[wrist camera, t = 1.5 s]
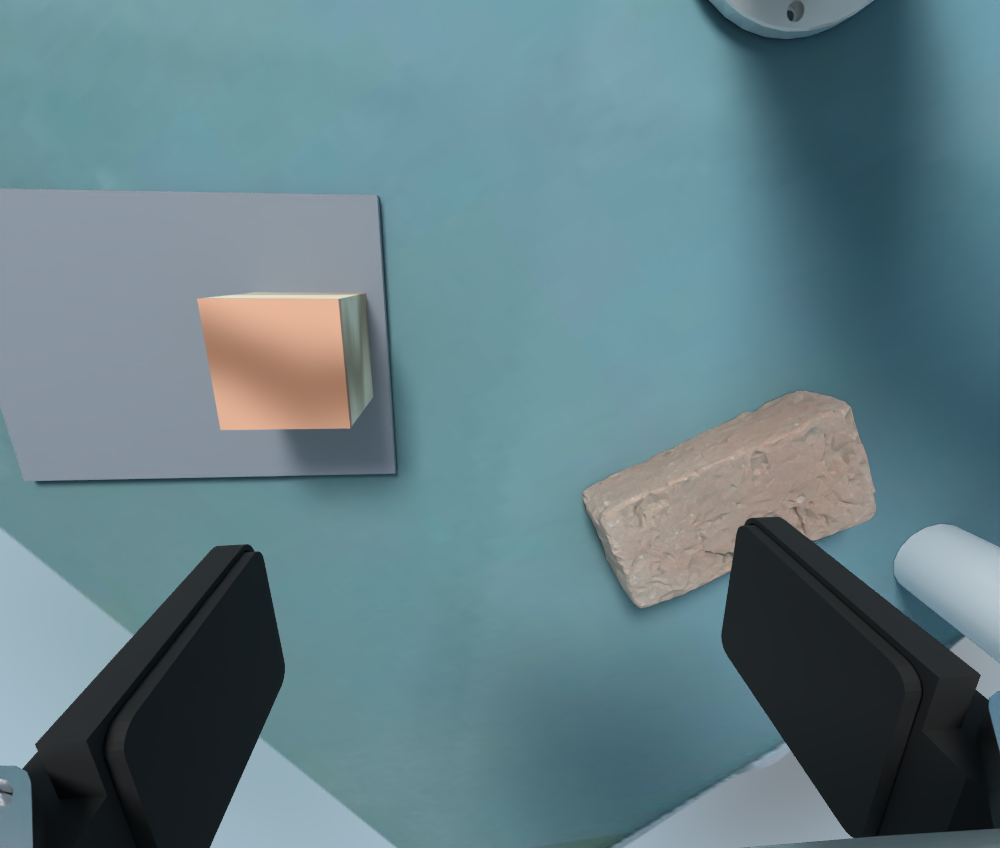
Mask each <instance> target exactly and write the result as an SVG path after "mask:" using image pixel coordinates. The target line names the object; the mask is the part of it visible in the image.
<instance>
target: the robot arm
mask: <svg viewBox="0 0 1000 848" xmlns="http://www.w3.org/2000/svg"><path fill="white" fill-rule="evenodd" d="M709 1H710V2H711V3H712V4H713V5H714V6H715V7H716V8H717V9H718V10H719V11H720V12H721V13H722V15H723V16H724V17H726V18H727V19H729V20H730V21H732V22H733V23H735V24H736V25H738V26H739V27H741V28H742V29H744V30H747V31H750V32H752V33H755V34H758V35H761V36H763V37H770V38H780V39H792V38H800V37H807V36H811V35H814V34H817V33H820V32H822V31H825V30H828V29H830V28H833V27H834V26H836V25H838V24H839V23H841V22H843V21H844V20H846V19H848V18H849V17H851V16H853V15H854V14H856V13H857V12H859V11H860V10H861V9H863V8H864V7H865V6H867V5H868V4H869V3H871V2H872V1H873V0H709ZM721 637H722V644H723V648H724V650H725V652H726V654H727V656H728V657H729V659H730V660H731V662H732V663H733V665H734V666H735V668H736V669H737V671H738V672H739V674H740V675H741V677H742V678H743V680H744V681H745V683H746V684H747V686H748V687H749V689H750V690H751V692H752V693H753V695H754V696H755V698H756V699H757V701H758V702H759V704H760V705H761V707H762V708H763V710H764V711H765V713H766V714H767V716H768V717H769V718H770V720H771V721H772V723H773V724H774V726H775V727H776V729H777V730H778V732H779V733H780V735H781V736H782V738H783V739H784V741H785V742H786V744H787V745H788V747H789V748H790V750H791V751H792V753H793V754H794V756H795V757H796V759H797V760H798V762H799V763H800V764H801V766H802V767H803V769H804V771H805V772H806V773H807V775H808V776H809V778H810V780H811V781H812V782H813V784H814V785H815V787H816V788H817V790H818V791H819V793H820V794H821V796H822V797H823V799H824V800H825V802H826V803H827V805H828V806H829V808H830V809H831V811H832V812H833V814H834V815H835V817H836V818H837V820H838V821H839V823H840V824H841V826H842V827H843V828H844V829H845V831H846V832H847V833H848V834H849V835H850V836H851V837H853V838H852V839H842V840H829V841H818V842H806V843H795V844H794V843H793V844H781V845H770V846H759V847H747V848H1000V691H998V692H996V693H995V694H994V695H992V696H991V697H990V698H989V700H988V699H986V698H985V697H984V696H982V694H980V693H979V692H978V691H977V690H976V687H977V684H978V681H979V678H980V676H981V675H980V674H979V673H978V672H976V671H975V670H974V669H973V668H971V667H970V666H969V665H967V664H966V663H965V662H964V661H963V660H961V659H960V658H959V657H957V656H956V655H955V654H954V653H952V652H951V651H950V650H949V649H947V648H946V647H945V646H944V645H942V644H941V643H940V642H939V641H937V640H936V639H935V638H933V637H932V636H931V635H930V634H928V633H927V632H926V631H925V630H923V629H922V628H921V627H920V626H918V625H917V624H916V623H915V622H913V621H912V620H911V619H909V618H908V617H907V616H906V615H904V614H903V613H902V612H901V611H899V610H898V609H897V608H896V607H894V606H893V605H892V604H891V603H889V602H888V601H887V600H885V599H884V598H883V597H882V596H880V595H879V594H878V593H877V592H875V591H874V590H873V589H872V588H870V587H869V586H868V585H867V584H865V583H864V582H863V581H861V580H860V579H859V578H858V577H856V576H855V575H854V574H853V573H851V572H850V571H849V570H848V569H846V568H845V567H844V566H843V565H841V564H840V563H839V562H838V561H836V560H835V559H834V558H832V557H831V556H830V555H829V554H827V553H826V552H825V551H824V550H822V549H821V548H820V547H819V546H817V545H816V544H815V543H814V542H812V541H811V540H810V539H808V538H807V537H806V536H805V535H803V534H802V533H801V532H800V531H798V530H797V529H796V528H795V527H793V526H792V525H791V524H790V523H788V522H787V521H786V520H784V519H783V518H781V517H758V518H749V519H747V520H746V522H745V524H744V526H740V527H739V528H738V530H737V533H736V540H735V547H734V553H733V560H732V567H731V574H730V580H729V587H728V594H727V600H726V607H725V614H724V621H723V627H722V636H721ZM284 673H285V663H284V658H283V653H282V648H281V643H280V638H279V633H278V628H277V623H276V618H275V613H274V608H273V603H272V598H271V593H270V588H269V583H268V578H267V573H266V568H265V563H264V559H263V555H262V554H261V553H260V552H254V550H253V548H252V547H251V546H250V545H248V544H246V545H227V546H216V547H214V548H213V549H212V550H211V551H210V552H209V553H208V554H207V555H206V556H205V558H204V559H203V560H202V561H201V562H200V563H199V564H198V565H197V566H196V567H195V569H194V570H193V571H192V572H191V573H190V574H189V575H188V576H187V577H186V579H185V580H184V581H183V582H182V583H181V584H180V585H179V586H178V587H177V588H176V590H175V591H174V592H173V593H172V594H171V595H170V596H169V597H168V598H167V599H166V601H165V602H164V603H163V604H162V605H161V606H160V607H159V608H158V609H157V610H156V612H155V613H154V614H153V615H152V616H151V617H150V618H149V619H148V620H147V622H146V623H145V624H144V625H143V626H142V627H141V628H140V629H139V630H138V631H137V633H136V634H135V635H134V636H133V637H132V638H131V639H130V640H129V642H128V643H127V644H126V645H125V646H124V647H123V648H122V649H121V650H120V651H119V652H118V654H117V655H116V656H115V657H114V658H113V659H112V660H111V661H110V662H109V663H108V665H107V666H106V667H105V668H104V669H103V670H102V671H101V672H100V673H99V675H98V676H97V677H96V678H95V679H94V680H93V681H92V682H91V684H90V685H89V686H88V687H87V688H86V689H85V690H84V691H83V692H82V693H81V694H80V695H79V697H78V698H77V699H76V700H75V701H74V702H73V703H72V704H71V705H70V706H69V708H68V709H67V710H66V711H65V712H64V713H63V714H62V716H60V718H59V719H58V720H57V721H56V722H55V723H54V724H53V725H52V726H51V727H50V729H49V730H48V731H47V732H46V733H45V734H44V735H43V736H42V737H41V739H40V740H39V741H38V742H37V743H36V744H35V745H36V748H37V750H38V752H37V753H36V754H35V755H34V756H33V758H32V759H31V760H30V761H29V762H28V763H27V764H26V765H25V767H24V768H23V769H20V768H19V767H17V766H0V848H210V846H211V843H212V841H213V839H214V836H215V834H216V832H217V830H218V828H219V825H220V823H221V821H222V819H223V816H224V814H225V812H226V810H227V807H228V805H229V803H230V801H231V798H232V796H233V794H234V792H235V789H236V787H237V785H238V782H239V780H240V778H241V776H242V774H243V771H244V769H245V767H246V764H247V762H248V760H249V758H250V756H251V753H252V751H253V749H254V747H255V744H256V742H257V740H258V738H259V735H260V733H261V731H262V729H263V726H264V724H265V722H266V720H267V717H268V715H269V713H270V711H271V708H272V706H273V704H274V701H275V699H276V697H277V695H278V692H279V690H280V688H281V686H282V683H283V679H284Z"/></svg>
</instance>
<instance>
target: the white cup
mask: <svg viewBox="0 0 1000 848" xmlns="http://www.w3.org/2000/svg"><path fill="white" fill-rule="evenodd" d="M894 575H895V577H896V579H897V581H898V582H899V584H900V585H902V586H903V587H904V588H906V589H907V590H908V591H909V592H911V593H912V594H913V595H914V596H916V597H917V598H918V599H919V600H921V601H922V602H923V603H924V604H926V605H927V606H928V607H930V608H931V609H932V610H933V611H935V612H936V613H937V614H938V615H940V616H941V617H942V618H943V619H945V620H946V621H947V622H948V623H950V624H951V625H952V626H953V627H955V628H956V629H957V630H959V631H960V632H961V633H962V634H964V635H965V636H966V637H967V638H969V639H970V640H971V641H973V642H974V643H975V644H976V645H977V646H979V647H980V648H981V649H982V650H984V651H985V652H986V653H988V654H989V655H990V656H991V657H993V658H994V659H995V660H996V661H998V662H999V663H1000V547H998V546H996V545H994V544H992V543H990V542H988V541H986V540H984V539H981V538H979V537H977V536H975V535H973V534H971V533H969V532H967V531H965V530H962V529H960V528H958V527H956V526H954V525H946V524H938V525H933V526H929V527H925V528H924V529H922V530H920V531H919V532H917V533H915V534H914V535H912V536H911V537H910V538H909V539H908V540H907V541H906V542H905V543H904V544H903V545H902V546H901V547H900V549H899V551H898V553H897V556H896V558H895V560H894Z"/></svg>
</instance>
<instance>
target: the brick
mask: <svg viewBox="0 0 1000 848" xmlns="http://www.w3.org/2000/svg"><path fill="white" fill-rule="evenodd" d="M874 493H875V488H874V486H873V482H872V478H871V473H870V469H869V463H868V458H867V455H866V452H865V449H864V447H863V445H862V442H861V440H860V437H859V434H858V431H857V428H856V425H855V421H854V417H853V413H852V409H851V407H850V406H849V405H848V404H847V403H846V402H845V401H841V400H838V399H836V398H833V397H830V396H826V395H822V394H819V393H815V392H809V391H797V392H794V393H789V394H786V395H784V396H782V397H780V398H778V399H775V400H773V401H770V402H767V403H765V404H764V405H762V406H761V407H760V408H759V409H757V411H756V412H745V413H742V414H740V415H738V416H737V417H736V418H734V419H733V420H730V421H727V422H725V423H723V424H721V425H718V426H716V427H714V428H712V429H710V430H707V431H705V432H702V433H700V434H699V435H697V436H696V437H694V438H692V439H689V440H687V441H684V442H683V443H681V444H679V445H677V446H675V447H674V448H672V449H669V450H666V451H664V452H662V453H660V454H658V455H655V456H653V457H652V458H650V459H648V460H646V461H644V462H643V463H640V464H636V465H633V466H631V467H629V468H627V469H624V470H622V471H620V472H618V473H616V474H614V475H611V476H609V477H608V478H606V479H604V480H602V481H600V482H597V483H595V484H594V485H592V486H590V487H588V488H587V489H586V490H585V491H584V492H583V500H584V503H585V505H586V511H587V514H588V515H589V516H590V518H591V520H592V523H593V524H594V526H595V528H596V530H597V533H598V536H599V538H600V539H601V541H602V545H603V547H604V549H605V555H606V559H607V561H608V562H609V564H610V565H611V568H612V570H613V572H614V573H615V575H616V577H617V579H618V581H619V583H620V585H621V586H622V588H623V590H624V591H625V592H626V593H627V596H628V597H629V598H630V600H631V601H632V602H633V603H634V604H635V605H637V606H638V607H639V608H640V609H641V608H646V607H649V606H652V605H655V604H658V603H659V602H662V601H666V600H669V599H672V598H674V597H677V596H680V595H683V594H686V593H687V592H689V591H691V590H694V589H696V588H698V587H701V586H703V585H705V584H707V583H709V582H711V581H712V580H714V579H716V578H717V577H719V576H721V575H724V574H726V573H728V572H730V571H731V567H732V560H733V553H734V547H735V540H736V533H737V530H738V528H739V527H740V526H744V524H745V522H746V520H747V519H749V518H758V517H781V518H783V519H784V520H786V521H787V522H788V523H790V524H791V525H792V526H793V527H795V528H796V529H797V530H798V531H800V532H801V533H802V534H803V535H805V536H806V537H807V538H808V539H810V540H818V539H820V538H822V537H826V536H830V535H833V534H834V533H837V532H839V531H842V530H845V529H848V528H851V527H854V526H856V525H858V524H861V523H863V522H866V521H869V520H870V519H871V518H872V517H873V516H874V515H875V512H876V502H875V498H874V495H873V494H874Z"/></svg>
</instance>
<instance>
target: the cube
mask: <svg viewBox="0 0 1000 848" xmlns="http://www.w3.org/2000/svg"><path fill="white" fill-rule="evenodd" d="M197 302H198V307H199V313H200V319H201V324H202V330H203V335H204V341H205V346H206V352H207V358H208V363H209V369H210V374H211V380H212V386H213V391H214V397H215V402H216V408H217V413H218V419H219V425H220V430H269V429H340V428H351V427H352V425H353V424H354V423H355V421H356V420H357V418H358V417H359V416H360V414H361V413H362V412H363V410H364V409H365V408H366V406H367V405H368V403H369V402H370V401H371V399H372V398H373V387H372V374H371V361H370V347H369V334H368V321H367V308H366V295H365V293H267V292H254V293H245V294H236V295H226V296H217V297H208V298H199V299H197Z"/></svg>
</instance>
